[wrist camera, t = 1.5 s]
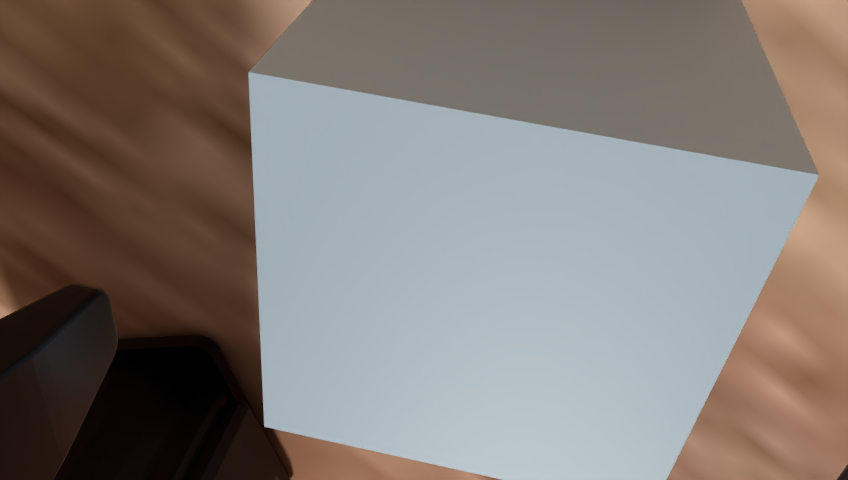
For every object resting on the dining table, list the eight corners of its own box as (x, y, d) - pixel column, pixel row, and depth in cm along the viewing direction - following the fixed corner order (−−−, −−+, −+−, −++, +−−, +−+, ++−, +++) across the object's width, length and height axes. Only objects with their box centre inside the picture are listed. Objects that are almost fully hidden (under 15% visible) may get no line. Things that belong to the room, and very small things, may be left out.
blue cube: (360, 212, 16) (264, 427, 12) (378, -72, 13) (248, 71, 8) (634, 265, 16) (649, 511, 11) (734, -15, 12) (819, 174, 8)
